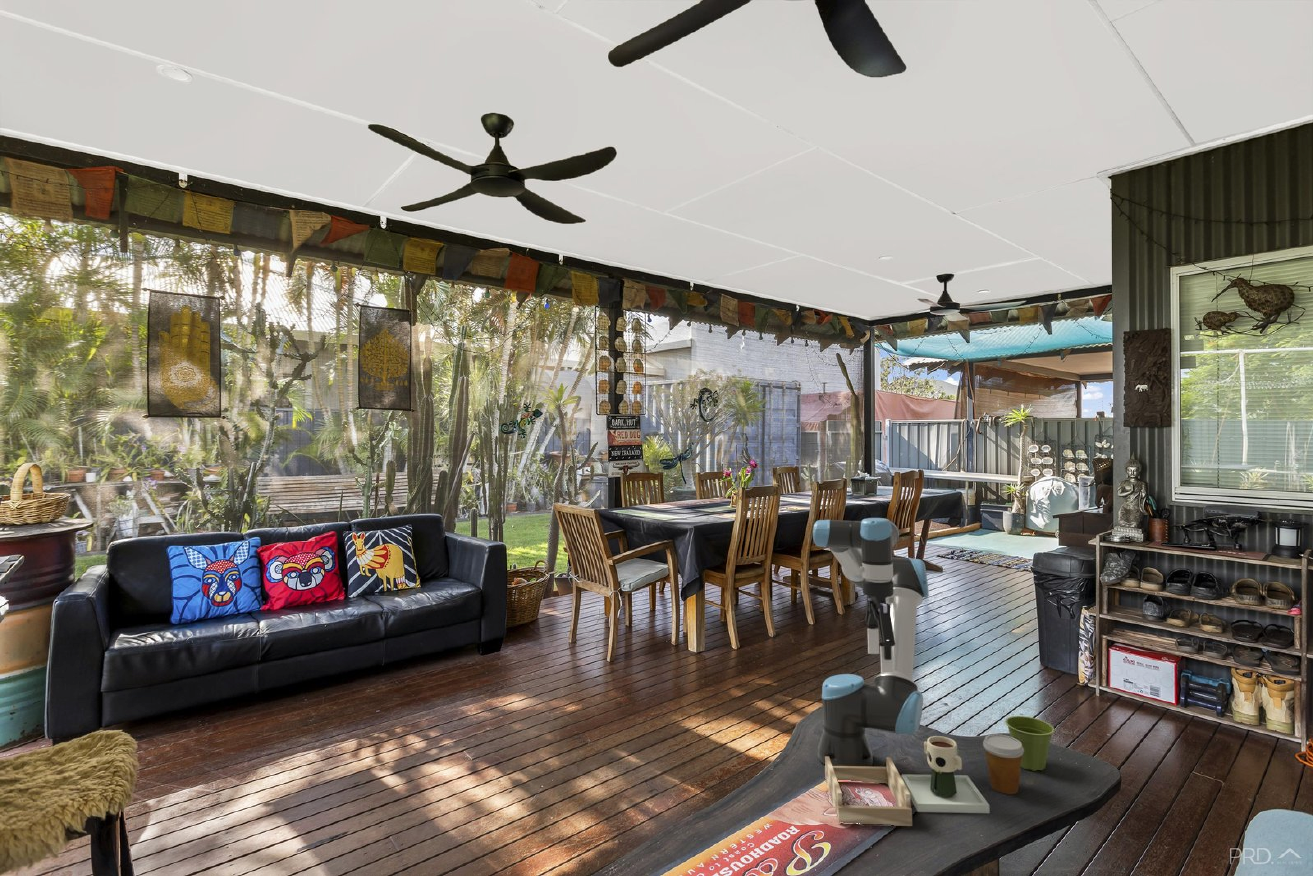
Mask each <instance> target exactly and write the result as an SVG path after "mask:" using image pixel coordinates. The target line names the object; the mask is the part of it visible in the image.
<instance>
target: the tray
mask: <svg viewBox="0 0 1313 876" xmlns="http://www.w3.org/2000/svg"><path fill="white" fill-rule="evenodd" d="M900 776H901V778H902V780H903V782H904V784H905V786H906V787H907V789H908V791H909V793H910V801H911V802H912V803H913V806H914V808H915V809H916V812H917V813H952V814H953V813H957V814H959V813H960V814H961V813H963V814H990V804H989V803H988V801H987V800H986V799H985V796H983V795H982V793H981V791H979V789H978V788H977V787H976V785H975V783H974V782H973V780H971V778H970V776H969V775H963V774H959V775H957V774H954V777H955V783H956V790H957V793H956V794H955V795H953V796H951V797H942V796H938V795H937V791H936V790H935V789H934V793H933V792H932V791H931V790H930V785H931V774H907V773H906V774H905V773H904V774H903V773H902V774H901V775H900Z"/></svg>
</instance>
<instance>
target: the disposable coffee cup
mask: <svg viewBox="0 0 1313 876" xmlns="http://www.w3.org/2000/svg"><path fill="white" fill-rule="evenodd" d="M982 745H983V748H984V750H985V757H986V763H987V768H988V774H989V780H990V781H989V782H990V786H991V788H992V789H994V791H997V792H999V793H1003V794H1007V795H1013V794H1017V793H1018V792H1019V786H1020V777H1021V769H1022V767H1021V760H1022V755H1023V753H1024V748H1023V747H1022V744H1021V742H1020V741H1019V740H1017V739H1015V738H1013V737H1011V736H1009V735H1004V734H999V733H996V734H994V733H993V734H988V735H986V736H985V737H984V740H983V742H982Z"/></svg>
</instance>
